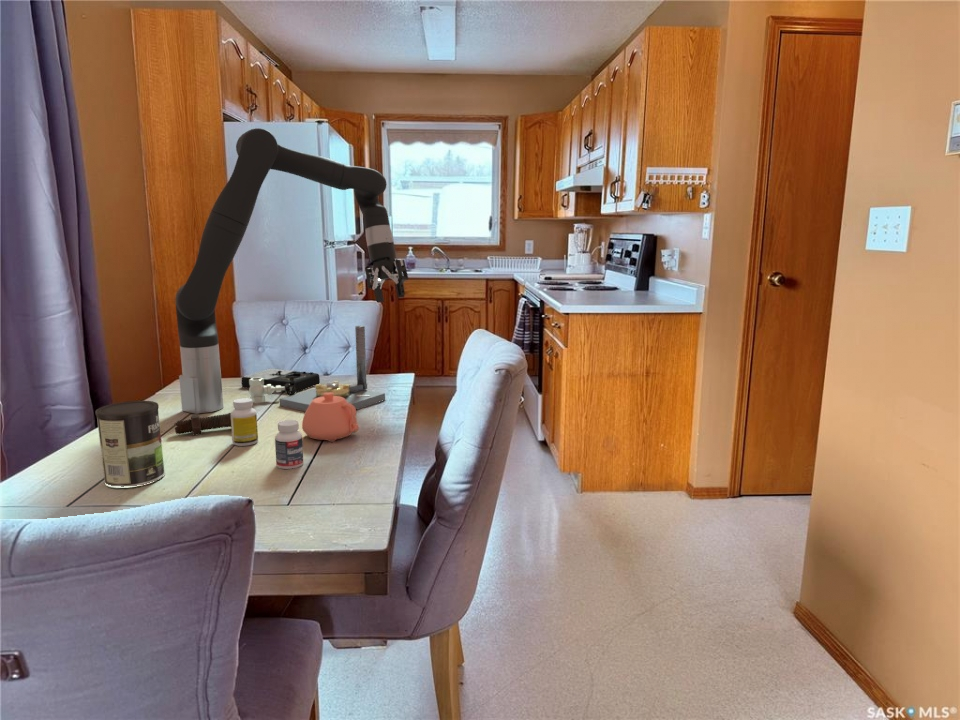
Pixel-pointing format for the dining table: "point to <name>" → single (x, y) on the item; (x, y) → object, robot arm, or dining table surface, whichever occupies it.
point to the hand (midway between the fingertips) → (390, 299)
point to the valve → (268, 389)
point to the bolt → (202, 423)
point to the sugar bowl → (329, 418)
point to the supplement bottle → (244, 423)
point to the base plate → (355, 397)
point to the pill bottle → (289, 445)
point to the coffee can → (130, 443)
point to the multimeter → (284, 378)
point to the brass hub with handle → (361, 384)
